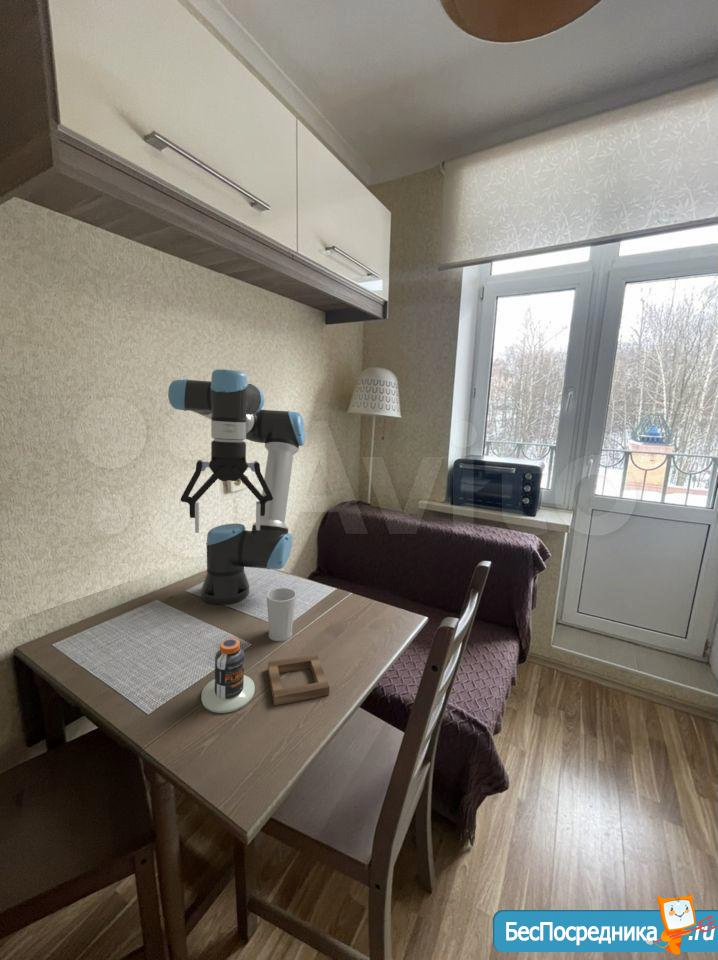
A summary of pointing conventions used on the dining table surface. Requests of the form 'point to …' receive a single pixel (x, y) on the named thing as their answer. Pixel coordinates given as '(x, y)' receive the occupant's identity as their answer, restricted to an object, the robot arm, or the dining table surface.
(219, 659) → the pill bottle
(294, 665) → the open wooden frame
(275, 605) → the cup
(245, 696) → the pale green rounded part
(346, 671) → the dining table surface
